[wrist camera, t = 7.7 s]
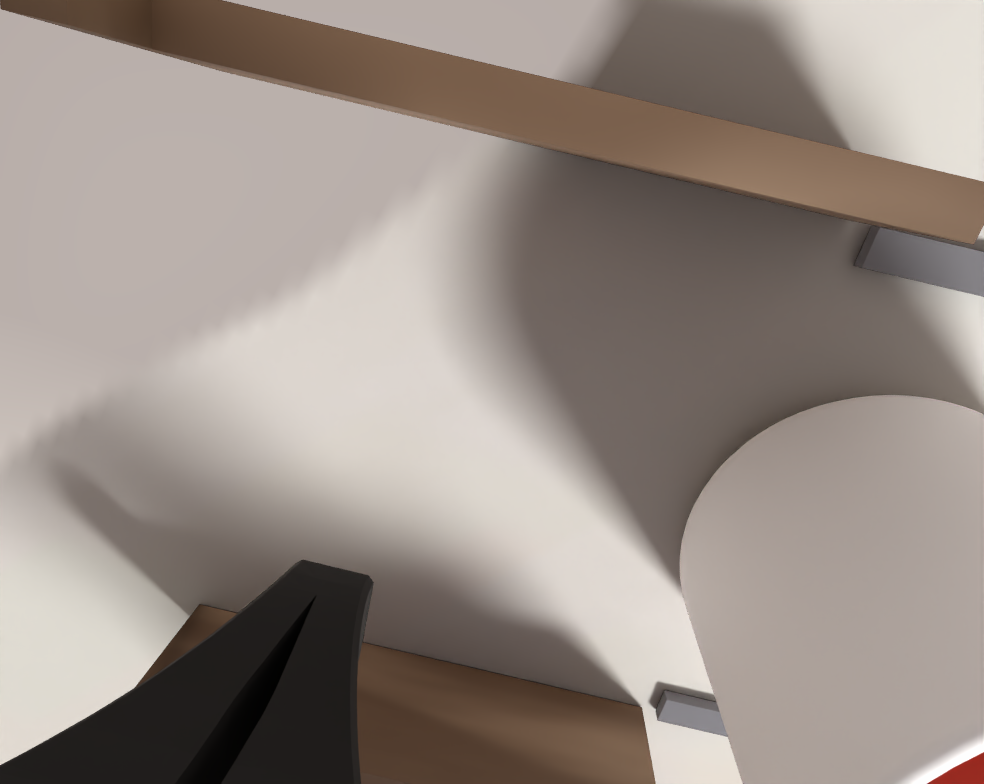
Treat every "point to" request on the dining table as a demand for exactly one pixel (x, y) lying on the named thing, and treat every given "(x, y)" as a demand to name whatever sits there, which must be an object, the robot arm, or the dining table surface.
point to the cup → (847, 594)
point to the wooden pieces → (561, 127)
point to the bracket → (890, 257)
